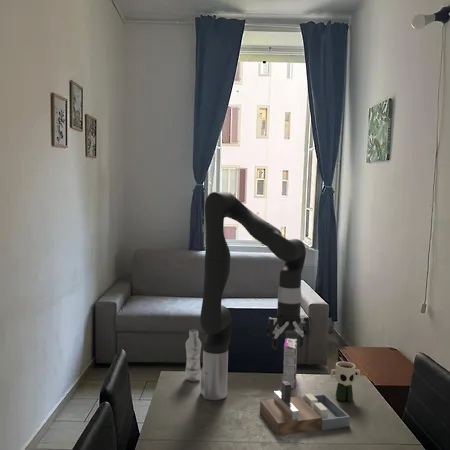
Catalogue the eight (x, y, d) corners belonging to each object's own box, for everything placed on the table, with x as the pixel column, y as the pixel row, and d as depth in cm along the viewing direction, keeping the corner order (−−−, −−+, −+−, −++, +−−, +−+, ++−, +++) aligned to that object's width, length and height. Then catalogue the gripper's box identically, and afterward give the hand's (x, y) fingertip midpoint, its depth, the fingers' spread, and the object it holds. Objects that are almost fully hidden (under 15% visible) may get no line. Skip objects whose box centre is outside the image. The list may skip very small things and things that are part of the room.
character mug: (332, 403, 165) (333, 368, 164) (327, 394, 172) (328, 361, 171) (361, 403, 165) (363, 368, 164) (355, 395, 172) (357, 361, 171)
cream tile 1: (311, 400, 154) (317, 399, 155) (304, 394, 159) (310, 393, 160) (310, 414, 155) (317, 413, 156) (303, 407, 160) (310, 407, 160)
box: (322, 430, 146) (322, 420, 145) (299, 406, 162) (299, 396, 162) (349, 427, 148) (350, 416, 148) (324, 403, 165) (324, 394, 164)
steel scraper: (292, 420, 143) (293, 392, 143) (273, 399, 158) (274, 374, 157) (298, 419, 144) (299, 392, 143) (279, 398, 158) (280, 373, 158)
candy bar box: (284, 376, 188) (285, 337, 187) (296, 378, 187) (297, 338, 186) (281, 387, 177) (283, 346, 176) (294, 389, 176) (296, 347, 175)
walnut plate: (277, 435, 142) (278, 423, 142) (259, 411, 157) (260, 400, 157) (321, 429, 146) (321, 417, 146) (299, 407, 161) (300, 396, 161)
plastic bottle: (188, 384, 178) (189, 334, 176) (182, 378, 184) (183, 329, 182) (203, 381, 181) (204, 332, 179) (196, 375, 187) (197, 327, 185)
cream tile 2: (320, 410, 148) (327, 409, 148) (313, 403, 153) (320, 402, 153) (320, 425, 148) (327, 424, 149) (313, 417, 153) (319, 416, 154)
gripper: (304, 296, 155) (301, 343, 156) (264, 297, 151) (263, 345, 152) (314, 301, 148) (311, 350, 149) (273, 303, 144) (271, 353, 145)
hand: (287, 348), depth 151 cm, fingers open, 8 cm apart
